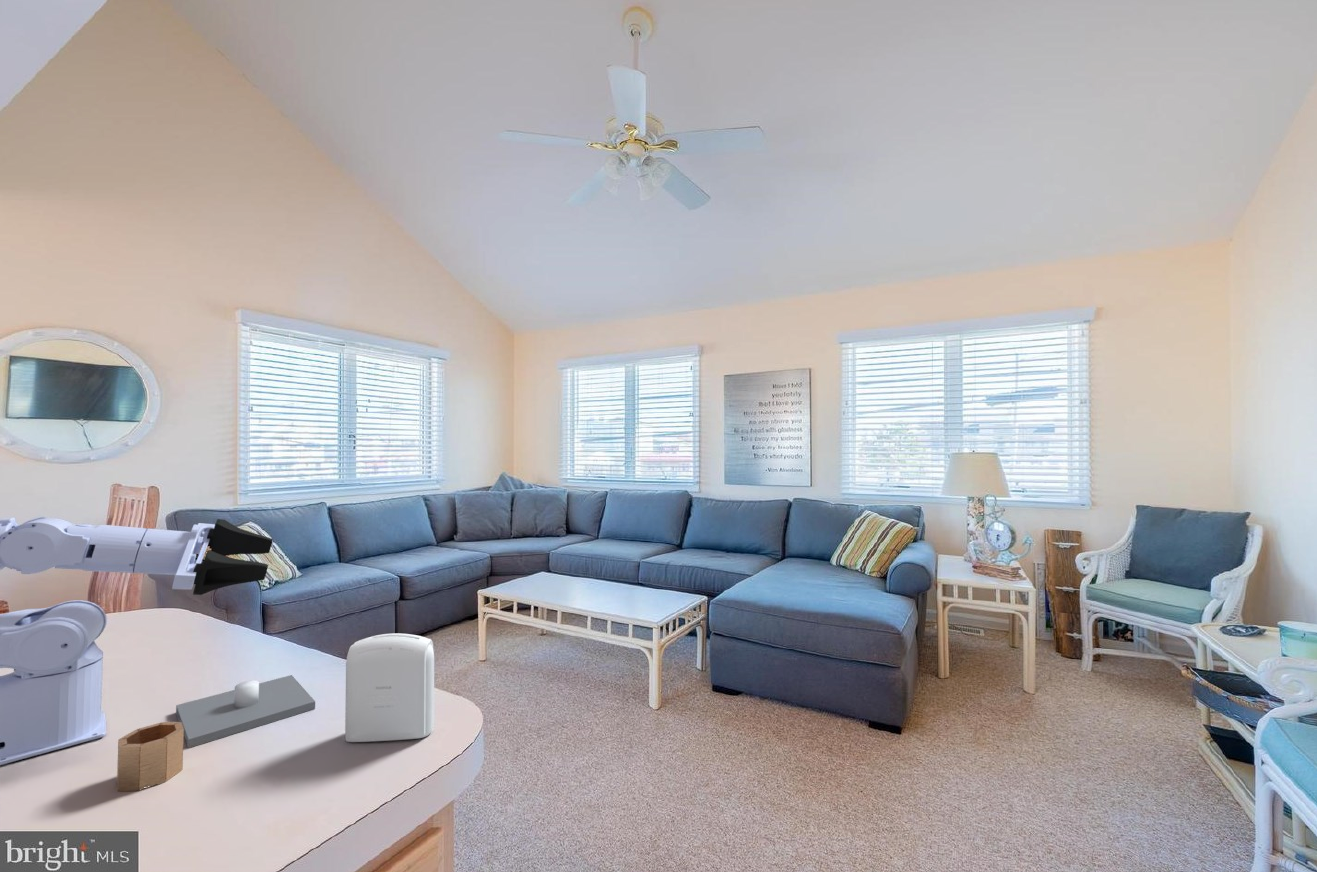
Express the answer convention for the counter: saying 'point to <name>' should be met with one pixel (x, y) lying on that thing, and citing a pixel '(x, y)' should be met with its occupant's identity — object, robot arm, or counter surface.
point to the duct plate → (242, 709)
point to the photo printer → (389, 688)
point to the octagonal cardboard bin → (150, 755)
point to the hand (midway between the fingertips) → (268, 558)
